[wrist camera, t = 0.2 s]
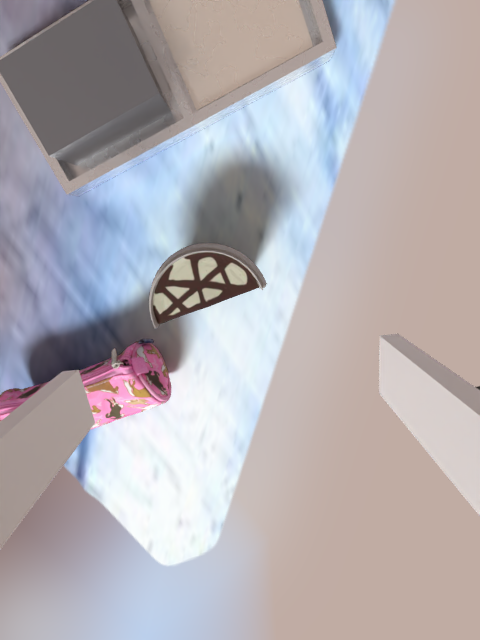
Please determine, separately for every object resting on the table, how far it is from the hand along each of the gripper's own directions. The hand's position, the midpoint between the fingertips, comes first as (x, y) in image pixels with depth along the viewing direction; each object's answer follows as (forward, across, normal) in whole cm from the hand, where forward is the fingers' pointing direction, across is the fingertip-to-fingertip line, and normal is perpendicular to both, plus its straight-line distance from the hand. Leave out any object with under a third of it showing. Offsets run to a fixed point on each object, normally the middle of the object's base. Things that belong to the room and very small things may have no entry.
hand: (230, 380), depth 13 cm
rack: (+26, -4, +23) cm, 35 cm away
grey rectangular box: (+25, -12, +21) cm, 34 cm away
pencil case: (+27, -21, -12) cm, 36 cm away
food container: (+26, -4, +2) cm, 27 cm away
